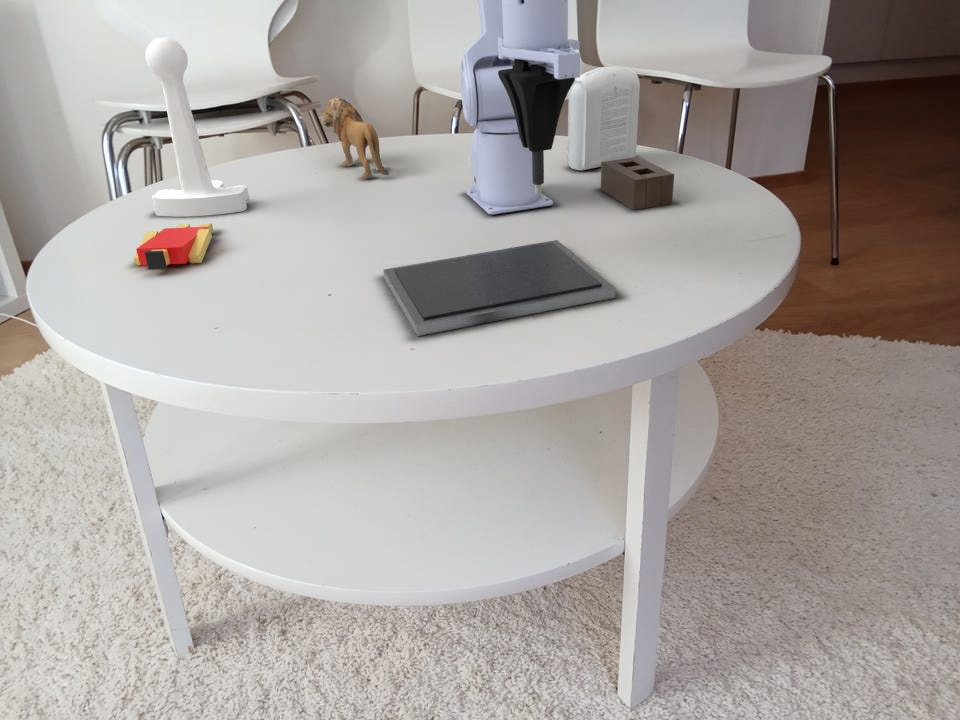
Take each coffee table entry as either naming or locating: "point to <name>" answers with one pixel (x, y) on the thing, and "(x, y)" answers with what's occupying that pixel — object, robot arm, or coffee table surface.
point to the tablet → (494, 286)
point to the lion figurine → (353, 134)
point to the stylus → (538, 170)
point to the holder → (637, 183)
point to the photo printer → (602, 117)
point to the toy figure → (174, 246)
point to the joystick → (187, 145)
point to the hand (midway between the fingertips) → (537, 148)
